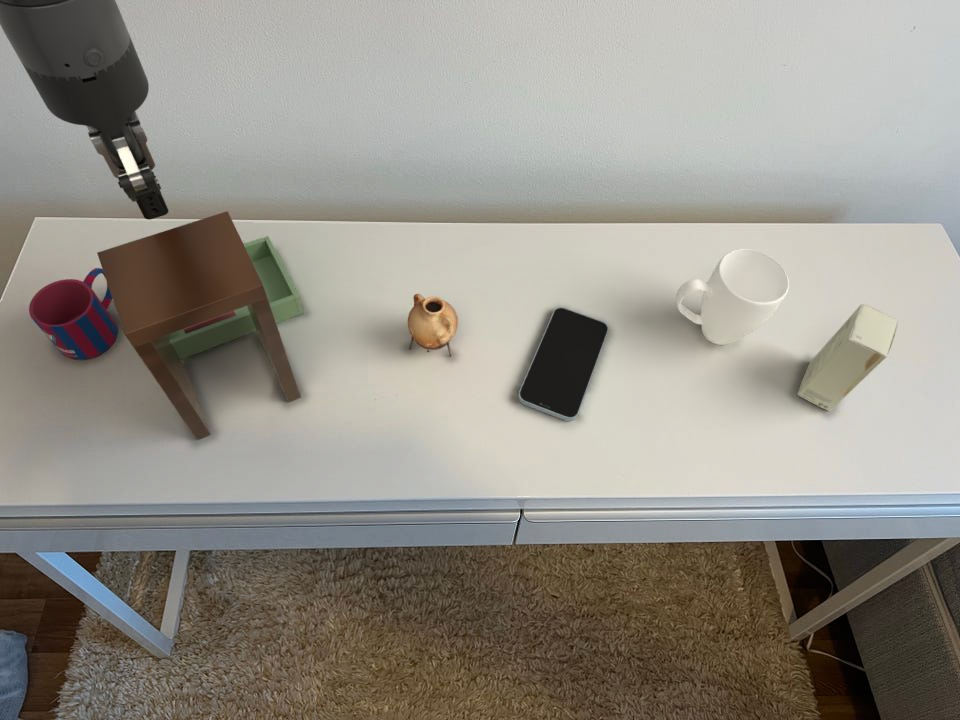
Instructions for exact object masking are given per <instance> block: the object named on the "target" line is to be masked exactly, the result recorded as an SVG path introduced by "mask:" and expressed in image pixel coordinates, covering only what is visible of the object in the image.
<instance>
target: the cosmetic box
mask: <svg viewBox="0 0 960 720" xmlns="http://www.w3.org/2000/svg"><path fill="white" fill-rule="evenodd" d="M899 322H900V321H899V319H898V318H895V317H893V316H891V315H889V314H887V313H885V312H883V311H881V310H879V309H877V308H875V307H873V306H870V305H869V304H866V303H864V302H862V303H860V305H859V306H858V307H857V308H856V309H855V310H854V312H852V314H851V315H850V316H849V317H848V319H847V320H846V321H845V322H843V324H842V325H841V326H840V328H839V329H837V331H836V332H835V333H834V334H833V336H831V338H830V339H829V340H828V341H827V342H826V343H825V345H823V346H822V348H821V349H820V350H819V351H818V352H817V353H816V355H815V356H814V357H813V358H812V359H811V360H810V362H809V364H808V366H807V368H806V370H805V373H804V375H803V378H802V380H801V383H800V384H799V388H798V391H797V396H798V397H800V398H802V399H803V400H806V401H808V402H810V403H811V404H813V405H815V406H817V407H818V408H821V409H823V410H825V411H828V412H831V411H832V410H833V409H834V408H836V406H837V405H838V404H839V403H840V402H841V401H842V400H843V399H844V398H845V397H846V396H848V395H849V394H850V393H851V392H852V391H853V390H854V389H855V388H856V387H857V386H858V385H859V384H860V383H861V382H862V381H863V380H864V379H865V378H866V377H868V376H869V374H870V373H871V372H873V371H874V370H875V369H876V368H877V367H878V366H879V365H880V364H881V363H882V362H883V361H884V360H885V359H886V358H887V357H888V356H889V354H890V351H891V349H892V346H893V343H894V340H895V336H896V333H897V329H898V325H899Z"/></svg>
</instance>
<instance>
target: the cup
mask: <svg viewBox="0 0 960 720" xmlns="http://www.w3.org/2000/svg"><path fill="white" fill-rule="evenodd" d="M101 274H102V275H103V276H104V277H105V275H104V272H103V269H102V267H95V268H93V269H91V270H90V271H89V273H88V274H86V275H85V278H84V279H83V280H80V279H75V278H66V279H65V278H64V279H60V280H56V281H53V282H50V283H49V284H47V285H45V286H43V287H42V288H40V289H39V290H38V291H37V292H36V293H35V294H34V296H32V299H30V300H31V301H30V303H29V305H28V306H29V307H28V313H29V316H30V318H31V320H32V321H33V322H34V324H35V325H36V326H37V327H38V328H39V329H40V331H42V333H43V334H44V335H45V336H46V337H47V338H48V340H49V341H50V342H51V343H52V344H53V345H54V346H55V347H56V349H57V350H58V351H59V352H60V353H61V354H62V355H63V356H64V357H66V358H68V359H72V360H74V361H75V360H78V361H84V360H90V359H93V358H96V357H98V356H101V355H102V354H105V352H107V351H108V350H109V349H110V348H111V347H112V346H113V344H114V343H115V342H116V339H117V338H118V337H117V336H118V325H117V323H116V321H115V320H114V318H113V317H112V315H111V314H110V313H109V311H108V309H109V308H110V306H111V303H112V302H113V299H112V296H111V293H110V290H109V287H108V284H107V283H106V291H105V294H104V296H103V299H102V300H100V298H99V297H98V296H97V293H96V292H95V291H94V290H93V288H92V287H93V284H94V282H95V279H96V278H97V277H98V276H99V275H101Z"/></svg>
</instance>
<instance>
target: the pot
mask: <svg viewBox="0 0 960 720" xmlns="http://www.w3.org/2000/svg"><path fill="white" fill-rule="evenodd" d="M412 298H413V307H412V308H411V309H410V311H409V312H408V316H407V328H408V331H409V333H410V336H411V338H410V342H409V345H408V350H411V349H412V346H413V343H414V341H415V343H416V344H417V345H419V346H420V347H422V348H423V349H427V351H426V352H427V353H430V351H431V350H432V351H435V350H440V349H443V348H444V347H446V346H447V351H448V354H449V357H450V358H451V357H453V354H452V353H453V352H452V350H451V345H450V342H451V340H452V339H453V338H454V336H455V335H456V333H457V330H458V324H459V320H458V319H459V318H458V315H457V314H458V313H457V312H456V310H455V308H454V307H453V306H452V305H451V304H450V303H449V302H447V301H446V300H443V299H441V298H440V297H438V296H429V297H426V298H425V297H424V296H423V295H422V294H420V293H415V294H414V295H413V297H412Z"/></svg>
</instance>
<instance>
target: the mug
mask: <svg viewBox="0 0 960 720" xmlns="http://www.w3.org/2000/svg"><path fill="white" fill-rule="evenodd" d="M712 271H713V272H712V273H711V274H710V276H709V279H708V281H707V282H706V281H704V280H702V279H698V278H694V279H690V280H688V281H686V282H684V283H682V284H681V285H680V286H679V288H678V289H677V290H676V293H675V296H674V302H675V306H676V308H677V310H678V311H679V312H680V313H681V315H683V316H684V317H685V318H686V319H688V320H690V321H691V322H693V324H695V325H701V332H702V334H703V336H704V337H705V339H706V340H707V341H709V342H710V343H713V344H715V345H719V346H726V345H729V344H731V343H733V342H736V341H738V340H740V339H742V338H744V337H746V336H748V335H750V334H752V333H754V332H755V331H757V330H759V329H760V328H762V326H764V325H765V324H766V323H767V322H768V320H769V319H771V317H772V316H773V315H774V313H775V312H776V310H777V309H778V308H779V307H780V305H781V304H782V302H783V301H784V299H785V298H786V296H787V294H788V291H789V289H790V280H789V277H788V274H787V272H786V270H785V268H784V267H783V266H782V264H780V263H779V261H778V260H776V259H775V258H774V257H772V256H770V255H769V254H766V253H765V252H762V251H759V250H756V249H752V248H740V249H735V250H731V251H729V252H727V253H726V254H725V255H724V256H722V257H721V259H720V260H719V261H718V263H717V264H716V266H715V268H714V269H713V270H712ZM695 291H702V296H701V305H700V314H697V313H695V312H693V311H691V310H690V309H689V308H687V307H686V306H685V305H683V303H682V301H683V299H684V298H685V297H686V296H688V295H689V294H690V293H692V292H695Z"/></svg>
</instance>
